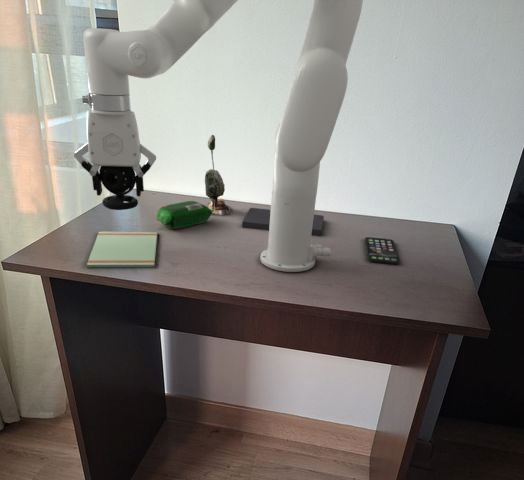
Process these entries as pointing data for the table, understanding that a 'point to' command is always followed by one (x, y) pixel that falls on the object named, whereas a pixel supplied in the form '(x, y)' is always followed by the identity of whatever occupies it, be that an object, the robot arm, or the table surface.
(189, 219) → the snack package
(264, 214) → the notebook
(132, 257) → the towel
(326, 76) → the robot arm
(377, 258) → the smartphone
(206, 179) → the plant with pod
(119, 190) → the webcam
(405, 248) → the table surface
